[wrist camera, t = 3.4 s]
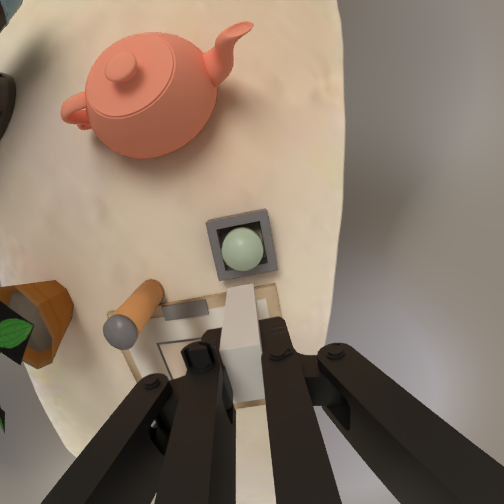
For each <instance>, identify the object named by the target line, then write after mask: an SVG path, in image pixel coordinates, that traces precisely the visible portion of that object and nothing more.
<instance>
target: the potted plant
mask: <svg viewBox="0 0 504 504" xmlns="http://www.w3.org/2000/svg"><path fill="white" fill-rule="evenodd" d="M72 313H73V302H72V300H71V298H70V296H69V293H68V291H67V289H66V288H64V287H63V286H62V285H61V284H59V283H58V282H57V281H56V280H53V281H45V282H37V283H30V284H22V285H14V286H6V287H0V353H1V352H2V353H3V354H4V355H6V356H7V357H9V358H10V359H12V360H13V361H15V362H16V363H18V364H19V365H21V362H22V361H23V362H25V363H27V364H29V365H30V366H32V367H34V368H36V369H40V368H42V367H44V366H46V365H48V364H50V363H52V362H53V359H54V357H55V354H56V352H57V350H58V347H59V345H60V343H61V340H62V338H63V336H64V334H65V332H66V329H67V327H68V325H69V323H70V321H71V319H72ZM4 420H5V412H4V411H3V410H2V409H1V408H0V425H1V427H2V429H3V431H4V432H5V421H4Z"/></svg>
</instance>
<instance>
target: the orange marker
mask: <svg viewBox="0 0 504 504" xmlns="http://www.w3.org/2000/svg"><path fill="white" fill-rule="evenodd" d="M163 295H164V289H163V287H162V285H161V284H160V283H159V282H158V281H156V280H152V279H150V280H147V281H145V282H144V283H142V284H141V285H140V286H139V287H138V288H137V289H136V290H135V291H134V293H133V294H132V295H131V296H130V297H129V298H128V299H127V300H126V301H125V302H124V303H123V304H122V305H121V307H120V308H119V309H118V310H117V311H116V312H115V313H114V314H113V315H112V316H111V317H110V318H109V319H108V320H107V321H106V322H105V324H104V326H103V333H104V336H105V338H106V340H107V341H108V342H109V343H110V344H111V345H112V346H113V347H115V348H117V349H120V350H128V349H130V348H132V347H133V345H134V344H135V342H136V340H137V338H138V336H139V335H140V333H141V331H142V330H143V328H144V327H145V325H146V324H147V322H148V320H149V319H150V317H151V316H152V314H153V313H154V311H155V310H156V308H157V307H158V305H159V304H160V302H161V300H162V298H163Z"/></svg>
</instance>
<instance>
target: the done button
mask: <svg viewBox="0 0 504 504" xmlns="http://www.w3.org/2000/svg"><path fill="white" fill-rule="evenodd" d="M222 256H223V259H224V261H225V262H226V264H227V265H228V266H229V267H231V268H233V269H235V270H238V271H247V270H250V269H252V268H254V267H255V266H257V265H258V264H259V262H260V261H261V259H262V256H263V245H262V242H261V240H260V237H259V235H258V234H257V233H256V232H255V231H254V230H253V229H251V228H249V227H244V226H240V227H236V228H234V229H232V230H231V231H229V232H228V233H227V235H226V237H225V239H224V242H223V245H222Z"/></svg>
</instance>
